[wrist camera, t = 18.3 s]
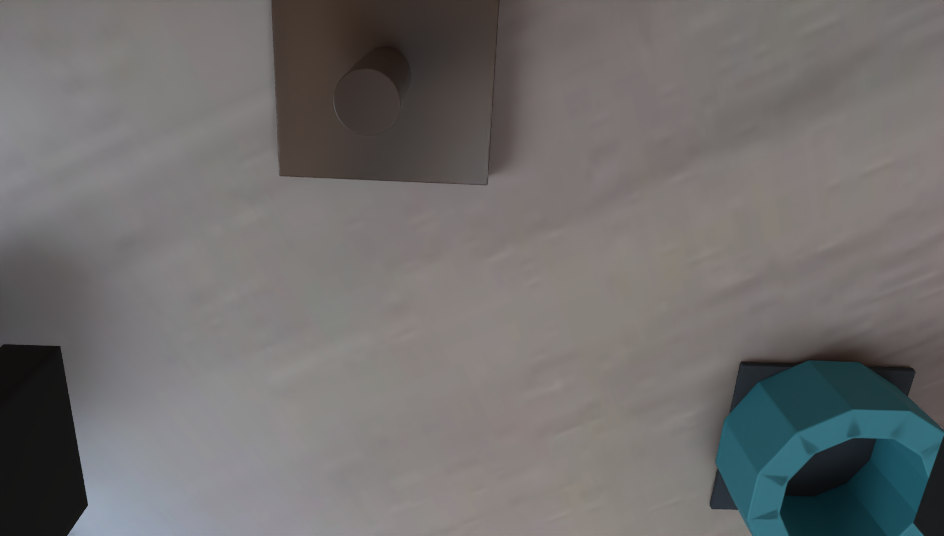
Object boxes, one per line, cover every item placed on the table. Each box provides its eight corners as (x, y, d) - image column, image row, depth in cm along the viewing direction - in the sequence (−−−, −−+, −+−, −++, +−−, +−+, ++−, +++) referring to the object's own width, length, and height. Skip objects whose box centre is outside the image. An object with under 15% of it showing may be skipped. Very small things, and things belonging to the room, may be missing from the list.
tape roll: (703, 516, 45) (732, 578, 40) (736, 357, 41) (774, 406, 36) (877, 520, 45) (926, 582, 41) (928, 363, 41) (989, 413, 36)
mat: (709, 505, 45) (711, 509, 44) (740, 361, 41) (742, 365, 41) (867, 508, 45) (870, 513, 45) (911, 367, 42) (916, 371, 41)
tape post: (285, 168, 36) (233, 230, 27) (276, -51, 33) (212, -61, 24) (486, 177, 37) (497, 241, 28) (499, -38, 33) (518, -43, 24)
